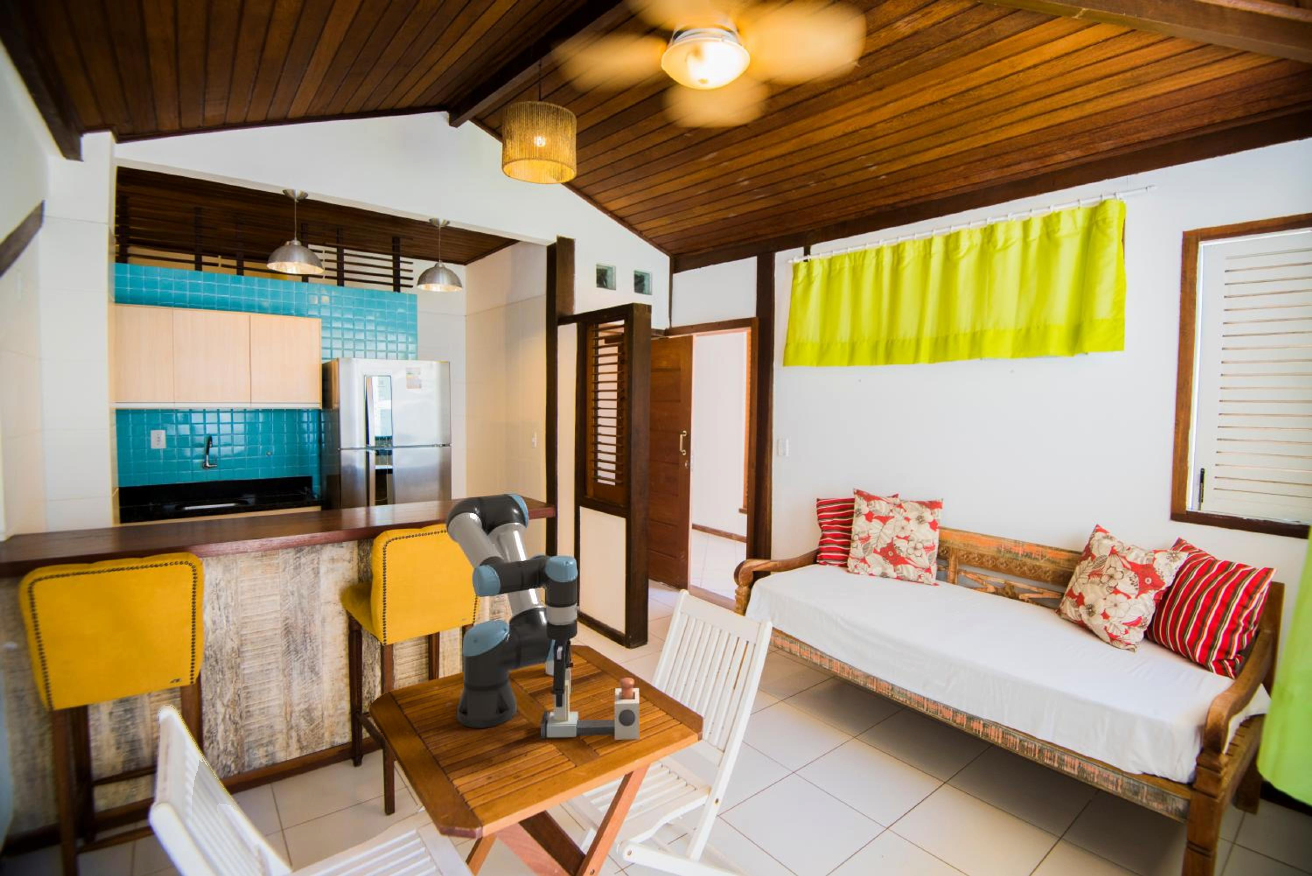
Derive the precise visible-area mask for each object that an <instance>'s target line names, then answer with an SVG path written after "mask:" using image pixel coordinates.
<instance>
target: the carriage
mask: <svg viewBox="0 0 1312 876" xmlns="http://www.w3.org/2000/svg"><path fill="white" fill-rule="evenodd" d="M565 691H566V719H554V711H550V713H549V714H548V723H547V736H546V738H572V737H573V738H574V737H577V736H576V725H577V720H579V711H570V694H569V680H565Z"/></svg>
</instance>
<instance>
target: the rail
mask: <svg viewBox="0 0 1312 876" xmlns="http://www.w3.org/2000/svg"><path fill="white" fill-rule="evenodd" d="M543 711H544V712H543V714H542V718H541V722H540V739H541V740H546V738H547V723H548V719H549V710H543ZM577 736H615V718H614V719H578V720H577V725H576V737H577Z"/></svg>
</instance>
